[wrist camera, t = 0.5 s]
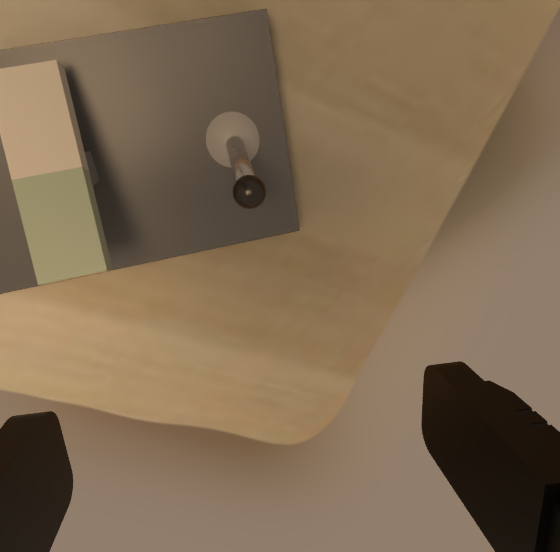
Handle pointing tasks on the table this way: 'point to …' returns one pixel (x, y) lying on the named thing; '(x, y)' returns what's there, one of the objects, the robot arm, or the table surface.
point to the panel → (166, 138)
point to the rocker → (50, 173)
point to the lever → (244, 176)
